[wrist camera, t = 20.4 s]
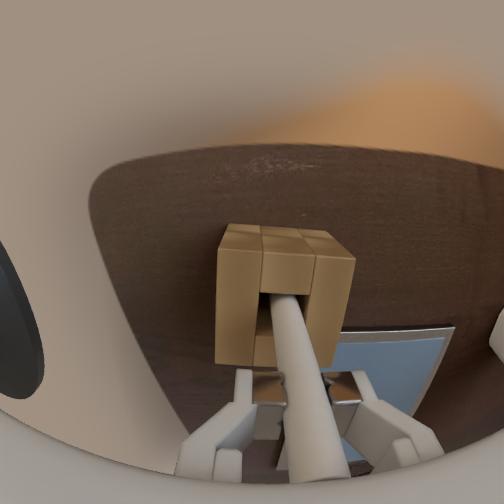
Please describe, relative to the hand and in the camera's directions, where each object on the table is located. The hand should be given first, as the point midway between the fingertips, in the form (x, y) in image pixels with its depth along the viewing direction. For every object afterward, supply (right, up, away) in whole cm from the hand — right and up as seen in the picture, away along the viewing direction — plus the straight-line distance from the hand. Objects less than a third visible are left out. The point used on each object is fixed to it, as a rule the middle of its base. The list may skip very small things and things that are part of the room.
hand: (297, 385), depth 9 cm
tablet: (+9, -11, +15) cm, 20 cm away
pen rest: (0, +3, +11) cm, 11 cm away
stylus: (0, +3, +9) cm, 10 cm away
